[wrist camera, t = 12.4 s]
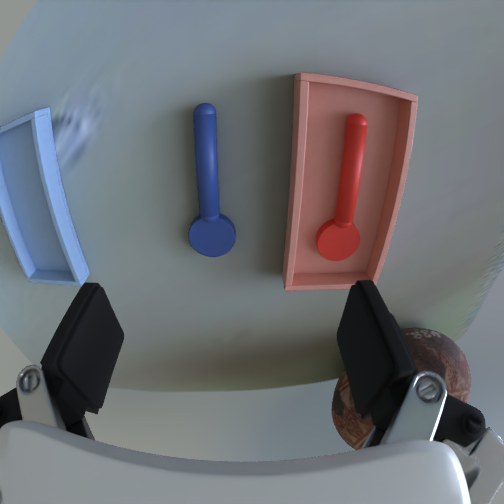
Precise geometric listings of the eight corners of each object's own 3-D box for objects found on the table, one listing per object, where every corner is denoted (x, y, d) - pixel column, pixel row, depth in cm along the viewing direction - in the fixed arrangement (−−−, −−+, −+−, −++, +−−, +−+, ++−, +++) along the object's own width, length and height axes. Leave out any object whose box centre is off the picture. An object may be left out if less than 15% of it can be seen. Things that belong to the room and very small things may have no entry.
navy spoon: (179, 104, 17) (174, 105, 16) (233, 101, 17) (232, 102, 16) (192, 251, 25) (189, 261, 23) (236, 251, 25) (235, 261, 23)
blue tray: (-4, 131, 16) (-18, 137, 14) (50, 107, 16) (34, 111, 14) (37, 270, 26) (28, 282, 24) (90, 273, 26) (81, 286, 24)
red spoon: (329, 108, 17) (335, 110, 16) (376, 115, 17) (386, 118, 16) (312, 255, 25) (316, 266, 23) (352, 255, 25) (357, 265, 23)
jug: (459, 333, 35) (509, 449, 15) (373, 394, 45) (397, 502, 24) (409, 284, 28) (493, 479, 7) (294, 373, 37) (310, 533, 16)
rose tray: (294, 73, 16) (300, 72, 14) (403, 93, 16) (418, 95, 14) (282, 275, 26) (284, 291, 25) (367, 273, 27) (375, 287, 25)
